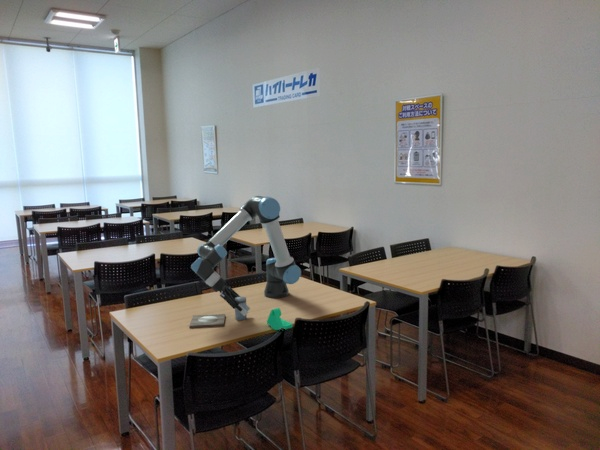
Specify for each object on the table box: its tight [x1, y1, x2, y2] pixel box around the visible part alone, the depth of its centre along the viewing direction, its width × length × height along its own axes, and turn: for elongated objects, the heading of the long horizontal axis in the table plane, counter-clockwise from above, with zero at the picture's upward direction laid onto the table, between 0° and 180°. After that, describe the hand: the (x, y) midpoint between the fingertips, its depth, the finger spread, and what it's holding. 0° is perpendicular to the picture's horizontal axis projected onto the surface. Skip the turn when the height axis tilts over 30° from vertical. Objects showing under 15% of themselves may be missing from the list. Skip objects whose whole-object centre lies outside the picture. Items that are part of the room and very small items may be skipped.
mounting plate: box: [188, 313, 226, 329], centre depth 238 cm, size 15×17×1 cm
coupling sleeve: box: [234, 296, 248, 321], centre depth 242 cm, size 6×6×11 cm
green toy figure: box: [266, 307, 293, 331], centre depth 229 cm, size 12×8×10 cm, turn 38°
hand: (247, 312), depth 242 cm, fingers closed on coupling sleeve, 6 cm apart
